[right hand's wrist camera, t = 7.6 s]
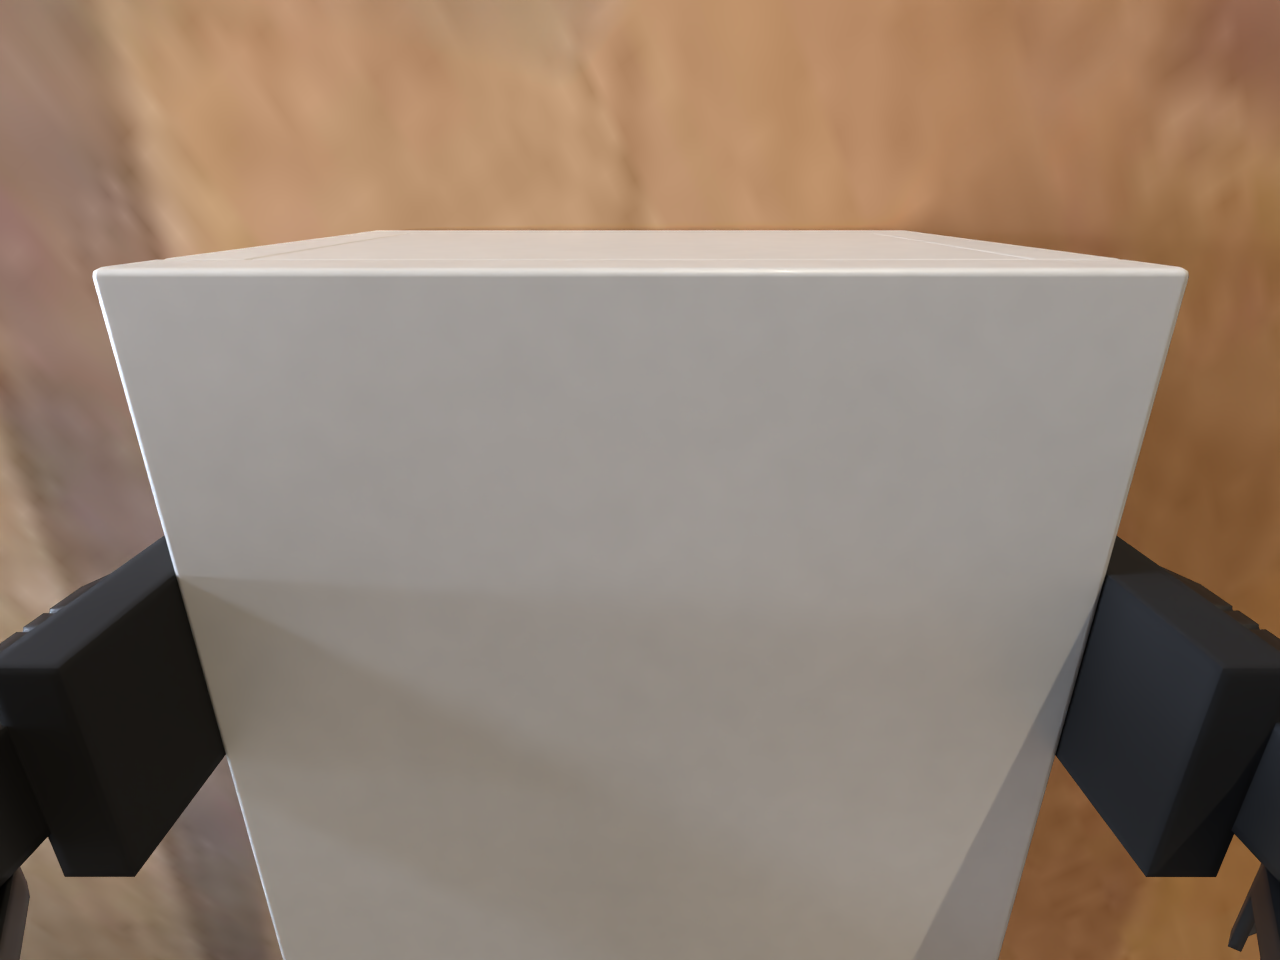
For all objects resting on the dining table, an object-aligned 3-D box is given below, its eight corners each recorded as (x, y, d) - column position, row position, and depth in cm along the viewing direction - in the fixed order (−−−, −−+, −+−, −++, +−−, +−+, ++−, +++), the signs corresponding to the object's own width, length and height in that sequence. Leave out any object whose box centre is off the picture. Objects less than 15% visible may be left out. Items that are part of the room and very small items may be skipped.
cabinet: (820, 876, 21) (919, 1250, 14) (460, 876, 21) (362, 1250, 14) (905, 230, 15) (1196, 267, 7) (375, 230, 15) (84, 268, 7)
